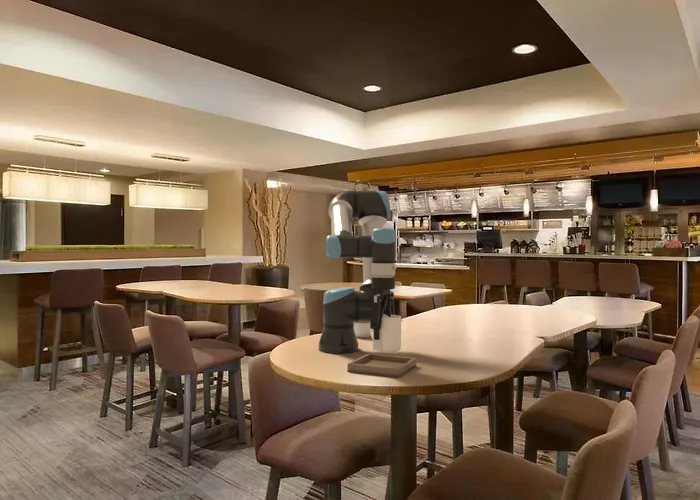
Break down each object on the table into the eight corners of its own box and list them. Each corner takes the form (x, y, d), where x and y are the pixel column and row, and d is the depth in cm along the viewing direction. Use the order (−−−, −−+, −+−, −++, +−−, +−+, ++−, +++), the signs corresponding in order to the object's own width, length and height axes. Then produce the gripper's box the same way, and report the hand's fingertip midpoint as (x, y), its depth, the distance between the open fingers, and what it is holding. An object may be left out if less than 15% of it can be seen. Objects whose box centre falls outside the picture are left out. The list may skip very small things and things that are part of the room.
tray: (347, 371, 156) (347, 363, 156) (368, 360, 172) (368, 353, 172) (399, 377, 149) (399, 369, 149) (416, 365, 165) (416, 358, 165)
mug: (380, 344, 168) (380, 312, 168) (406, 350, 159) (406, 316, 159) (361, 347, 163) (361, 314, 163) (387, 353, 154) (387, 318, 153)
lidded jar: (347, 334, 222) (347, 313, 222) (369, 333, 226) (369, 313, 226) (354, 339, 212) (354, 317, 212) (378, 337, 215) (378, 316, 215)
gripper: (382, 278, 149) (381, 354, 149) (405, 275, 168) (404, 342, 168) (359, 277, 152) (358, 352, 152) (384, 275, 172) (383, 341, 171)
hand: (382, 347), depth 160 cm, fingers closed on mug, 9 cm apart
